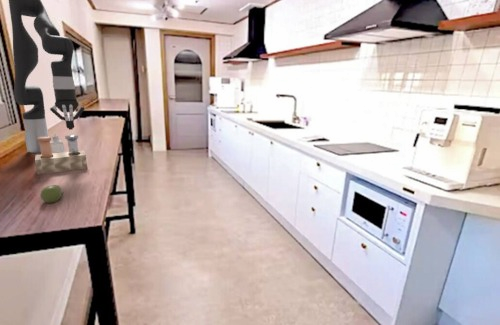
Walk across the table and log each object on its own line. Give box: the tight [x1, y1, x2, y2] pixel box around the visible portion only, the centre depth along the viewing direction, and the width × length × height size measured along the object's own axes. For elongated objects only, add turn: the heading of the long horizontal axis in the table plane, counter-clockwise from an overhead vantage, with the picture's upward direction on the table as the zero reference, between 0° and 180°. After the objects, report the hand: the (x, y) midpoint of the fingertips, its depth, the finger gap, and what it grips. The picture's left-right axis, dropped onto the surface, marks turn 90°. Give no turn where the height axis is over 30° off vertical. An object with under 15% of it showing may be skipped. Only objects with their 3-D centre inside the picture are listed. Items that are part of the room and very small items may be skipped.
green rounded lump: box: [40, 184, 64, 204], centre depth 95 cm, size 6×5×10 cm
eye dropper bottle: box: [50, 132, 66, 153], centre depth 140 cm, size 4×6×12 cm
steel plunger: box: [64, 134, 80, 155], centre depth 126 cm, size 5×5×10 cm
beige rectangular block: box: [34, 150, 88, 175], centre depth 125 cm, size 18×9×6 cm, turn 124°
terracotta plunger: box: [37, 136, 52, 158], centre depth 121 cm, size 5×5×10 cm
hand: (70, 129), depth 124 cm, fingers closed
